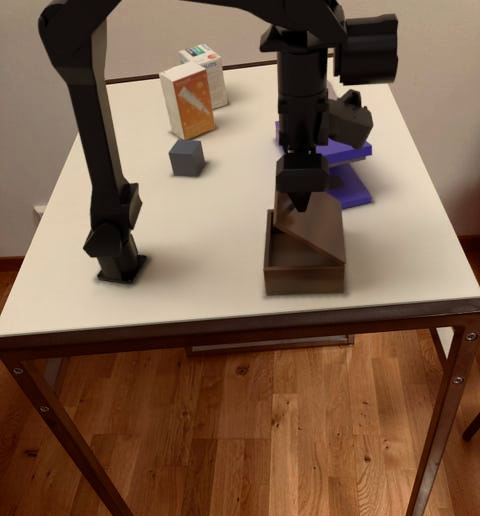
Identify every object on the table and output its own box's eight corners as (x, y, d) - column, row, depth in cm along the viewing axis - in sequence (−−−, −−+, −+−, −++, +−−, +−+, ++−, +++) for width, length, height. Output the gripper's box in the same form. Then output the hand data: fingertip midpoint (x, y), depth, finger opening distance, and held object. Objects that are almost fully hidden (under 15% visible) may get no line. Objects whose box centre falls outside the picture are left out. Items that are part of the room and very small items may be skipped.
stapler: (312, 215, 87) (311, 165, 80) (272, 139, 106) (268, 92, 99) (376, 201, 88) (380, 149, 81) (325, 127, 107) (325, 80, 100)
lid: (272, 225, 66) (295, 200, 63) (276, 165, 76) (295, 140, 72) (343, 266, 70) (367, 245, 67) (338, 204, 80) (359, 183, 77)
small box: (185, 142, 110) (172, 81, 100) (171, 132, 114) (157, 72, 104) (216, 128, 112) (206, 67, 103) (202, 119, 116) (191, 59, 106)
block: (196, 177, 100) (191, 154, 96) (173, 175, 102) (168, 152, 98) (205, 163, 103) (201, 140, 100) (183, 161, 105) (177, 139, 101)
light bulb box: (186, 96, 125) (177, 50, 117) (211, 88, 126) (204, 42, 118) (202, 113, 118) (194, 65, 110) (229, 104, 119) (222, 56, 111)
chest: (266, 295, 76) (263, 270, 72) (270, 234, 86) (267, 209, 82) (343, 293, 74) (344, 267, 71) (338, 231, 84) (339, 205, 80)
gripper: (381, 122, 52) (366, 240, 64) (365, 50, 65) (355, 160, 76) (273, 127, 54) (277, 241, 65) (278, 55, 66) (281, 162, 78)
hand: (301, 198), depth 71 cm, fingers closed on lid, 6 cm apart
